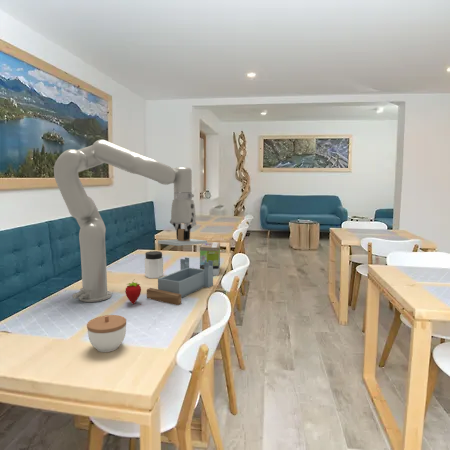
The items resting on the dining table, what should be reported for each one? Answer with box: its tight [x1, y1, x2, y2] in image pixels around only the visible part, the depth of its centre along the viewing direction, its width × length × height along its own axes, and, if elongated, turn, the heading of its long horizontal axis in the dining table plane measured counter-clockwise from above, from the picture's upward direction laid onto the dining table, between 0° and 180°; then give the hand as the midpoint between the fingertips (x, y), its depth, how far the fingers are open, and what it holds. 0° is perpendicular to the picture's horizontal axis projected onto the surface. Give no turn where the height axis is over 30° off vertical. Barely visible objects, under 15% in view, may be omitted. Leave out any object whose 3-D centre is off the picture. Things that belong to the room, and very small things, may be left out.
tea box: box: [199, 241, 221, 276], centre depth 187 cm, size 15×10×15 cm
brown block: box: [146, 287, 182, 306], centre depth 143 cm, size 2×16×4 cm, turn 59°
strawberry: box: [125, 278, 142, 305], centre depth 139 cm, size 6×8×10 cm
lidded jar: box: [86, 314, 127, 353], centre depth 103 cm, size 11×11×9 cm
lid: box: [157, 228, 208, 247], centre depth 155 cm, size 22×10×6 cm, turn 151°
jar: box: [144, 250, 164, 279], centre depth 179 cm, size 9×8×12 cm
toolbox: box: [157, 257, 214, 299], centre depth 157 cm, size 23×15×11 cm, turn 151°
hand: (182, 238), depth 154 cm, fingers closed on lid, 3 cm apart
